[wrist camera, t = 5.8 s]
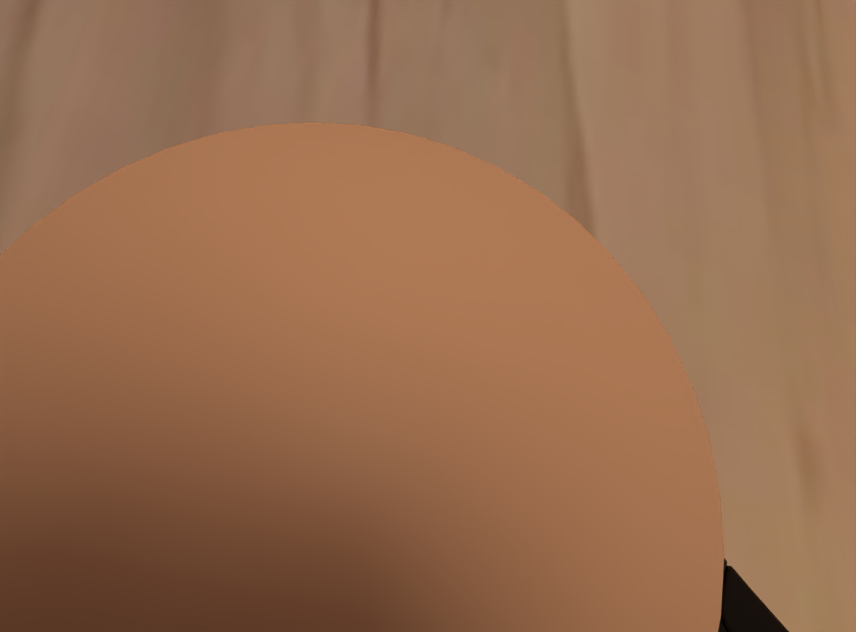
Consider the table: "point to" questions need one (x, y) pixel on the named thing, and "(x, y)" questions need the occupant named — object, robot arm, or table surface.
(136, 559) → the terracotta peg
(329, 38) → the table surface
